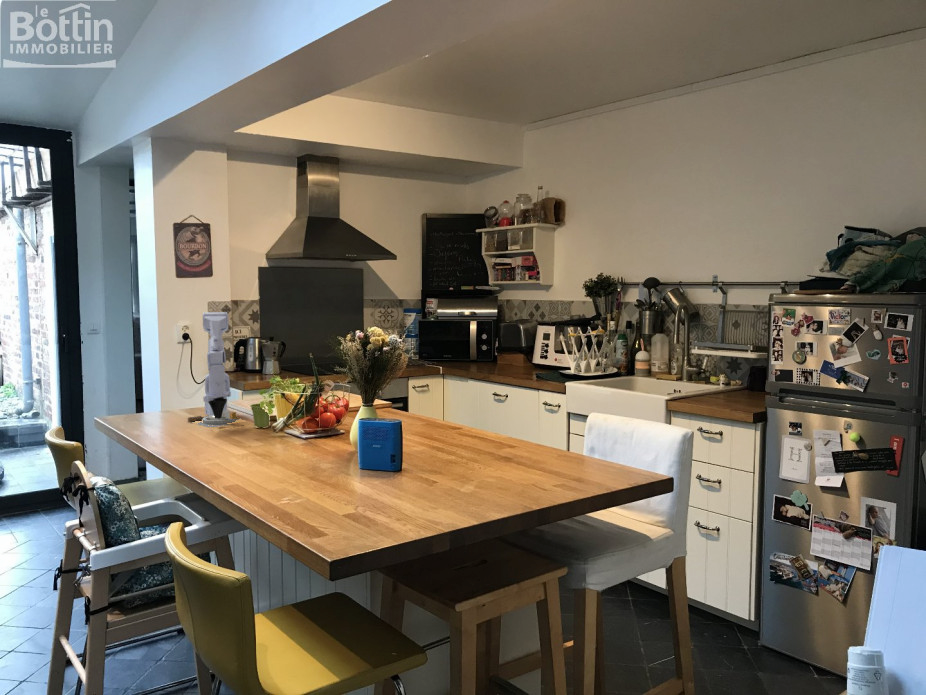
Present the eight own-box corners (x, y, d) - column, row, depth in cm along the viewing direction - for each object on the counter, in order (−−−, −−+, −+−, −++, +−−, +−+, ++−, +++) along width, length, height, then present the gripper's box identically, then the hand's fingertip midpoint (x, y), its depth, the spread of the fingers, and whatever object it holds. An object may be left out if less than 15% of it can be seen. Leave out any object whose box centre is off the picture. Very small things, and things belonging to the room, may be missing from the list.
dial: (204, 421, 292) (204, 409, 292) (223, 418, 298) (223, 407, 298) (224, 425, 282) (224, 413, 282) (243, 422, 288) (243, 411, 288)
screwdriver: (190, 422, 290) (189, 417, 290) (187, 422, 291) (187, 417, 291) (218, 418, 299) (218, 413, 299) (215, 418, 300) (215, 413, 300)
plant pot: (269, 424, 291) (268, 402, 290) (280, 427, 284) (279, 405, 283) (246, 427, 285) (246, 404, 284) (257, 430, 278) (256, 407, 277)
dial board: (186, 423, 292) (186, 418, 292) (228, 417, 305) (227, 412, 305) (210, 429, 280) (209, 423, 280) (252, 423, 293) (252, 417, 293)
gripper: (214, 385, 274) (215, 421, 275) (237, 380, 287) (238, 415, 289) (198, 384, 276) (199, 420, 277) (221, 379, 289) (222, 414, 291)
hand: (218, 417), depth 283 cm, fingers closed
